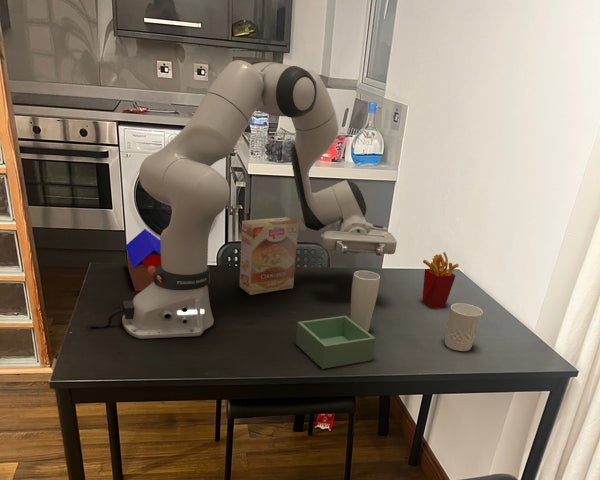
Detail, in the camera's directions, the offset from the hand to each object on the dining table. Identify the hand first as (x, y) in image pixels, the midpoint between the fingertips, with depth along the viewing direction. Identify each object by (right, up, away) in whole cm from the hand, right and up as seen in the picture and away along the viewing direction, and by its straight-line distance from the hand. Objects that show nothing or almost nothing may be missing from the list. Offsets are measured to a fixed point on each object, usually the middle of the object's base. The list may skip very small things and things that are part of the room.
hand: (362, 251), depth 158 cm
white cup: (+24, -25, -5) cm, 35 cm away
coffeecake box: (-26, -6, +19) cm, 33 cm away
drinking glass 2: (-1, -21, -2) cm, 21 cm away
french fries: (+22, -11, +19) cm, 31 cm away
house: (-60, -4, +18) cm, 63 cm away
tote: (-8, -28, -14) cm, 32 cm away
